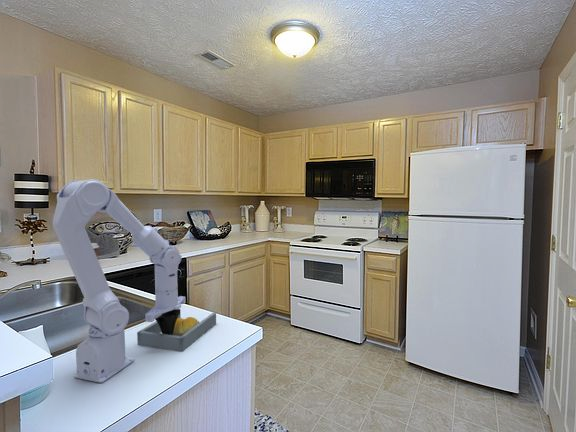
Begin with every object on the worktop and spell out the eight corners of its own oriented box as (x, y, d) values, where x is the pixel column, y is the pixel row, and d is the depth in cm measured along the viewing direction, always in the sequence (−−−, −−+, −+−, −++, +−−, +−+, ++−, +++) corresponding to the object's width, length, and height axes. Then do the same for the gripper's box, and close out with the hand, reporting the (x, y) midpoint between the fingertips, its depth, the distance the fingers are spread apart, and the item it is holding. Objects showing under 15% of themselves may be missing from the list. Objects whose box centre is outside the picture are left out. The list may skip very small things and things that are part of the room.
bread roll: (171, 326, 94) (171, 314, 94) (200, 325, 95) (200, 312, 95) (163, 338, 86) (163, 325, 86) (196, 337, 87) (195, 323, 87)
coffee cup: (86, 265, 178) (85, 245, 177) (79, 263, 183) (78, 244, 182) (102, 262, 186) (102, 243, 185) (95, 261, 191) (94, 242, 190)
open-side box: (182, 351, 79) (182, 338, 78) (137, 344, 82) (137, 332, 82) (216, 323, 96) (216, 312, 96) (177, 319, 100) (177, 308, 99)
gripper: (161, 298, 75) (162, 351, 76) (194, 282, 89) (195, 327, 90) (137, 296, 77) (139, 348, 78) (173, 281, 91) (174, 325, 92)
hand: (167, 337), depth 84 cm, fingers closed
